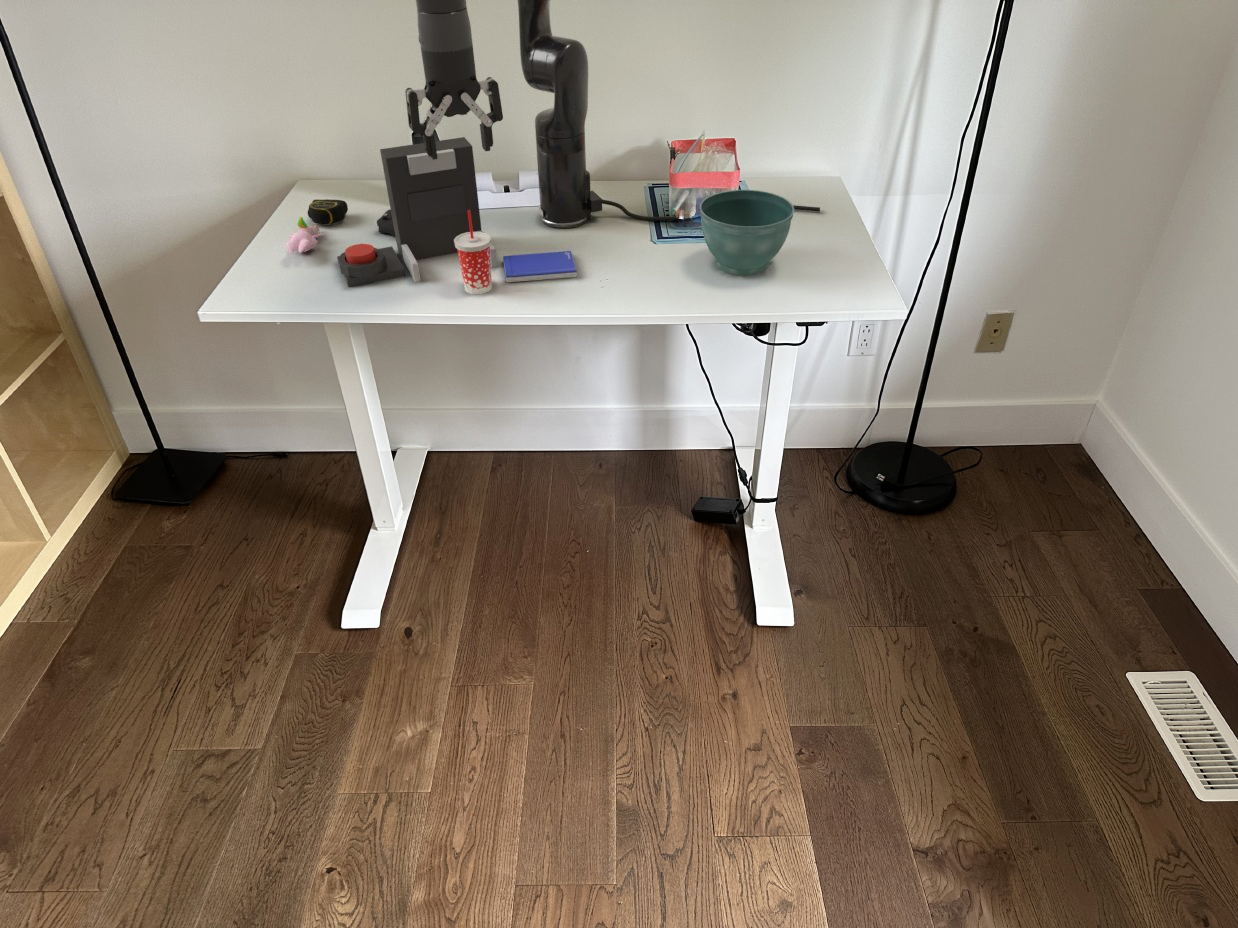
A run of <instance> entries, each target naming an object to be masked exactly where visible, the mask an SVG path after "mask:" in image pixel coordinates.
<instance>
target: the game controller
mask: <svg viewBox="0 0 1238 928" xmlns="http://www.w3.org/2000/svg"><path fill="white" fill-rule="evenodd" d="M376 225H377V227H378V231H377V232H378V233H379V234H382V235H384V234H389V235H392V236H393V237H395V238H396V236H395V231H394V225H393V220H392V214H391V208H389V209H388V210H387V209H386V211H385V212H384V213H383V215H382V216H380V217H379V218H378V219H377V220H376Z"/></svg>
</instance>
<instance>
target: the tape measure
mask: <svg viewBox="0 0 1238 928" xmlns="http://www.w3.org/2000/svg"><path fill="white" fill-rule="evenodd" d="M348 211H349V207H348V203H347V202H346V201H345V200H342V199H313V200H312V202H311V203H310V204H308V209H307V216H308V218H309V219H310V220H311V221H312V222H313V223H314V224H315V225H316V224H317V225H323V226H327V225H329V226H332V225H334V224H338V223H340V222H342V221H343V220H344V219H345V218H346V214H347V213H348Z"/></svg>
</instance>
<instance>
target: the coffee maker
mask: <svg viewBox="0 0 1238 928" xmlns="http://www.w3.org/2000/svg"><path fill="white" fill-rule="evenodd" d="M435 144H436V150H437V157H438V159H435V160H433V159H432V158H431V157H430V156H428V154H427V153H426V151H425V146H424V142H421V143H420V142H419V143H414V144H406V145H399V146H394V147H387V148H386V147H385V148H380V149H379V152H380V157H381V163H382V168H383V175H384V180H385V185H386V190H387V197H388V203H389V207H390V208H389V209H391V214H392V220H393V225H394V231H395V236H396V237H395V236H394V237H395V241H396V246H397V252H398V254H399V256H400V258H401V259H402V261H403V263H404V265H405V266H406V269H407V270H408V272H409V273H410V276H411V277H412V279H413V281H414V283H419V282H421V280H422V279H421V275H420V268H419V263H418V261H421V260H425V259H430V258H436V257H441V256H446V255H453V254H458V251H457V248H456V247H455V243H454V239H455V238H456V237H457V236H458V235H460V234H463V233H466V232H470V227H469V219H468V211H467V210H470V211H471V220H472V228H473V232H482V233H484V232H483V230H482V222H481V221H482V220H481V214H480V213H481V212H480V203H479V193H478V186H477V177H476V167H475V159H474V151H473V145H472V144H471V143H470V142H469V140H468V139H466V137H465V136H462V137H456V138H449V139H442V140H441V139H440V140H435ZM490 261H491V268H497V267H498V261H497V249H496V248H495V246H494V245H493V243H492V242H491V244H490Z"/></svg>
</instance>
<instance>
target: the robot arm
mask: <svg viewBox="0 0 1238 928" xmlns="http://www.w3.org/2000/svg"><path fill="white" fill-rule="evenodd" d="M415 5H416V13H417V33H418V37H417V38H418V43H419V45H420V51H421V59H422V65H423V73H424V81H425V85H424V88H420V89H413V88H412V87H407V88H406V89H405V91H404V92H405V93H404V94H405V102H406V103H405V104H406V111H407V120H408V121H407V122H408V127H409V129H410V130H411V131H412V133H414V134H416V135H417V134H420V135H422V139H423V143H424V146H425V151H426V153H427V154H428V156H430V157H431V158H432V159H433V160H435V159H438V157H437V150H436V144H435V141H436V137H435V135H434V132H435V130H436V128H437V126H438V125H439V124H440V123H441V121H442V120H443V118H444V117H446V118H451V117H456V116H457V115H460V116H465V115H468V113H470V111H471V112H472V113H473V114H474V115H475V117H476V118H478V119H479V120H480V123H479V131H480V139H481V147H482V149H483V150H484V152H491V148H492V147H494V136H493V125H494V124H495V123H497V122H501V121H502V120H503V119H504V113H503V107H502V100H501V94H500V88H499V83H498V82H497V81H496V80H495V79H494V78H493V77H491V76H488V77H486V79H484V80H480V81H479V80H478V79H477V71H476V62H475V61H476V60H475V54H474V53H475V52H474V45H473V34H472V27H471V20H470V16H469V13H468V7H467V6H468V5H467V0H415ZM517 9H518V29H519V30H518V32H519V54H520V55H519V56H520V64H521V71H522V74H523V77H524V80H525V81H526V83H527V85H529V87H530V88H532V89H535V90H537V91H542V92H546V93H550V94H554V96H553V97H554V99H553V107H550V108H547V109H543V110H542V111H540V112H539V113H537V114H536V116H535V117H534V129H535V130H534V132H535V146H536V159H537V160H536V161H537V177H538V191H539V192H538V194H539V205H538V207H537V208H538V212H539V216H540V222H541V223H542V224H544V225H546V226H548V227H552V228H557V229H568V228H574V227H578V226H582V225H583V224H585V223H586V222H588V221H589V222H590V221H592V213H596V212H597V213H598V212H602V211H603V205H608V206H611V207H614V208H618V209H619V210H620V211H622V212H623V214H625V216H627V217H629V218H632V219H636V220H640V221H645V222H672V221H674V222H675V221H682V220H681V219H678V218H676V217H671V216H672V215H668V216H667V215H666V216H644V215H639V214H635V213H632V212H630V211H629V210H628V209H627V208H626V207H625V206H623V205H622V204H621V203H618V202H616V201H612V200H607V199H603V198H602V197H600V195H598V194H597V193H596V192H595V191H594V190H591V173H590V172H589V171H588V170H587V156H586V119H587V115H588V110H589V109H588V108H589V58H588V53H587V50H586V48H585V46H584V45H583V43H581V41H579V40H578V39H572V38H567V37H562V36H556V35H553V31H552V27H551V26H552V25H551V11H550V10H551V0H517ZM481 90H482V91H483V93H484V94H485V95H486V96H487V97H488V103H489V110H490V112H488V113H486V112H485V111H484V110H483V109H482V108H481V107H480V106H479V104H477V102H476V101H477V99H478V97H479V95H480V93H481ZM425 98H426V100H428V102H429V103H430V105H429V107H428V110H427V111H426V116H425V117H424V120H423V121H422V122H421V120H420V110H419V107H420V106H422V104H423V100H424V99H425ZM792 205H793V204H792ZM793 207H794V211H807V212H820V211H821V207H820V206H805V205H795V204H794V205H793Z"/></svg>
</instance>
